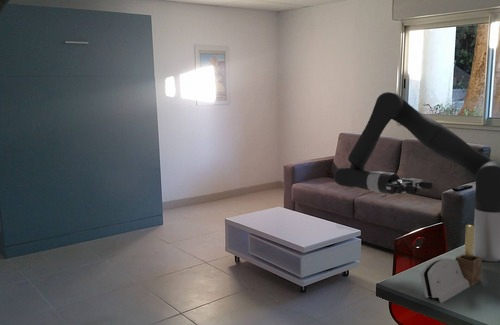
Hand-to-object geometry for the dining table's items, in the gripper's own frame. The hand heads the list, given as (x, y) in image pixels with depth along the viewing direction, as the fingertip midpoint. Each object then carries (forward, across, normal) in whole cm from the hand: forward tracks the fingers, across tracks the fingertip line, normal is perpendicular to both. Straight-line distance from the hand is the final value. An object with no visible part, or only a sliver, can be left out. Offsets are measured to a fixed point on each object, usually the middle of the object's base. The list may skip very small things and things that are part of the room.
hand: (424, 188), depth 150 cm
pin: (+16, -2, +24) cm, 29 cm away
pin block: (+16, -2, +27) cm, 31 cm away
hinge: (+14, -13, +27) cm, 33 cm away
